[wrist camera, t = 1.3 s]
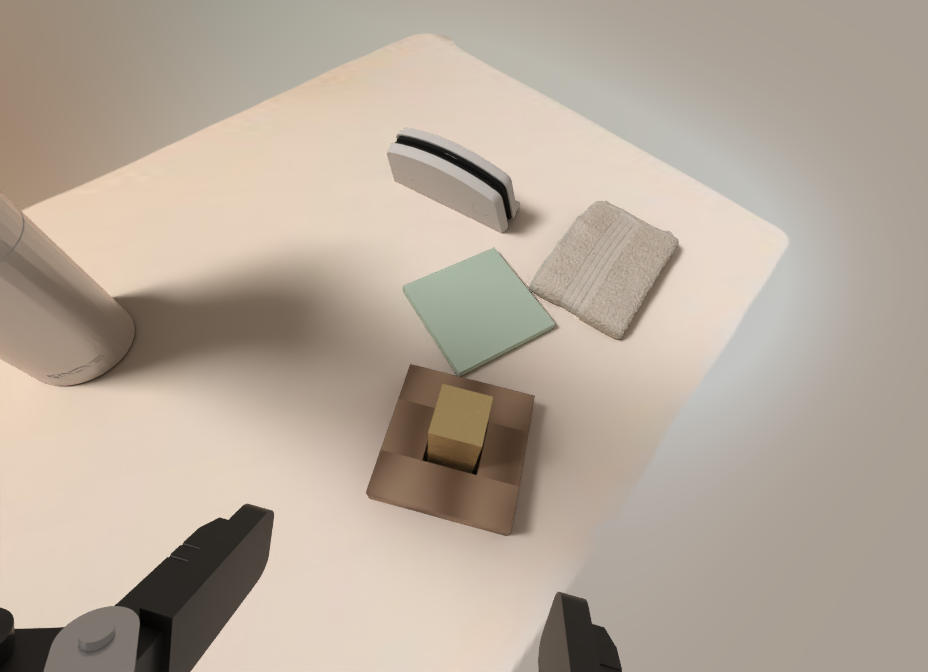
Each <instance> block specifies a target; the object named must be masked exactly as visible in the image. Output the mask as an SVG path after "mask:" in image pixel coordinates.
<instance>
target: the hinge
mask: <svg viewBox="0 0 928 672" xmlns="http://www.w3.org/2000/svg"><path fill="white" fill-rule="evenodd" d="M387 156H388V159H389V163H390V166H391V170H392V174H393V177H394V181H396V182H398V183H400V184H402V185H404V186H406V187H408V188H410V189H412V190H414V191H416V192H418V193H420V194H422V195H424V196H426V197H428V198H430V199H432V200H435V201H437V202H439V203H441V204H443V205H445V206H447V207H449V208H451V209H453V210H455V211H457V212H459V213H461V214H463V215H465V216H467V217H469V218H471V219H473V220H475V221H477V222H479V223H482V224H484V225H486V226H488V227H490V228H492V229H494V230H496V231H498V232H500V233H504V232H505V231H506V230H507V229H508V228H509V227H508V219H511V218H513V219H514V217H515V215H516V212H519V209H520V202H518V201H516V200H515V197H514V192H513V186H512V181H511V178H510V177H509V176H508V175H507V174H506V173H505V172H503V171H502V170H501V169H499V168H498V167H496V166H495V165H493V164H492V163H490V162H489V161H487V160H486V159H484V158H482V157H481V156H479V155H477V154H475V153H474V152H472V151H470V150H468V149H466V148H464V147H462V146H460V145H458V144H456V143H454V142H452V141H449V140H447V139H445V138H442V137H440V136H437V135H434V134H431V133H428V132H424V131H421V130H416V129H411V128H404V129H403V130H402V131H401V132H399V133H398V134H397V142H395V143H391V145H390V147H389V150H388V153H387ZM507 218H508V219H507Z"/></svg>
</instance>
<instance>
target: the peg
mask: <svg viewBox="0 0 928 672" xmlns="http://www.w3.org/2000/svg"><path fill="white" fill-rule="evenodd" d="M492 400H493V397H492V396H488V395H485V394H481V393H477V392H473V391H469V390H465V389H461V388H457V387H453V386H449V385H446V384H442V387H441V391H440V394H439V397H438V401H437V404H436V407H435V411H434V414H433V418H432V421H431V424H430V428H429V431H428V462H429V463H433V464H437V465H440V466H444V467H448V468H452V469H455V470H459V471H463V472H467V473H470V474H472V472H473V469H474V467H475V464H476V461H477V459H478V456H479V454H480V451H481V448H482V445H483V440H484V436H485V431H486V427H487V423H488V418H489V414H490V409H491V405H492Z"/></svg>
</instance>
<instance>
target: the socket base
mask: <svg viewBox="0 0 928 672" xmlns="http://www.w3.org/2000/svg"><path fill="white" fill-rule="evenodd" d="M442 384H446V385H449V386H453V387H457V388H461V389H465V390H469V391H473V392H477V393H481V394H485V395H488V396H492V397H493V400H492V405H491V409H490V414H489V418H488V423H487V427H486V432H485V436H484V441H483V445H482V450H481V454H480V459H479V463H478V467H477V472H476V475H474V474H470V473H467V472H463V471H459V470H455V469H452V468H448V467H444V466H440V465H437V464H433V463H429V462H425V461H424V459H425V456H426V452H427V449H428V431H429V428H430V424H431V421H432V418H433V414H434V411H435V407H436V404H437V401H438V397H439V394H440V391H441V387H442ZM534 397H535V396H533V395H529V394H525V393H521V392H518V391H514V390H510V389H506V388H502V387H498V386H494V385H490V384H486V383H482V382H478V381H474V380H470V379H467V378H463V377H459V376H455V375H451V374H447V373H443V372H439V371H435V370H431V369H427V368H423V367H419V366H416V365H412V364H410V367H409V370H408V373H407V375H406V378H405V381H404V384H403V387H402V390H401V393H400V396H399V398H398V401H397V404H396V407H395V410H394V413H393V416H392V419H391V422H390V424H389V427H388V430H387V433H386V436H385V439H384V442H383V445H382V447H381V450H380V453H379V456H378V459H377V462H376V465H375V468H374V470H373V473H372V476H371V479H370V482H369V485H368V488H367V491H366V494H367V495H368V497H369V498H370V499H373V500H377V501H381V502H384V503H388V504H392V505H395V506H399V507H403V508H406V509H410V510H413V511H417V512H421V513H424V514H428V515H432V516H435V517H439V518H443V519H446V520H450V521H453V522H457V523H461V524H464V525H468V526H472V527H475V528H479V529H483V530H486V531H490V532H494V533H497V534H501V535H504V536H507V535H508V534H510V533H511V531H512V525H513V519H514V514H515V508H516V502H517V496H518V490H519V484H520V479H521V473H522V467H523V461H524V455H525V450H526V444H527V438H528V432H529V426H530V421H531V415H532V409H533V403H534Z"/></svg>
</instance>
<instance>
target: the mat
mask: <svg viewBox="0 0 928 672" xmlns="http://www.w3.org/2000/svg"><path fill="white" fill-rule="evenodd" d="M403 292H404V294H405V296H406V297H407V299H408V300H409V302H410V303H411V305H412V306H413V308H414V309H415V311H416V313H417V314H418V316H419V317H420V319H421V320H422V322H423V323H424V325H425V326H426V328H427V330H428V331H429V333H430V334H431V336H432V337H433V339H434V340H435V342H436V344H437V345H438V347H439V348H440V350H441V351H442V353H443V354H444V356H445V357H446V359H447V361H448V362H449V364H450V365H451V367H452V368H453V370H454V371H455V373H456V374H457V376H459V377H460V376H462V375H464V374H466V373H468V372H470V371H472V370H474V369H476V368H478V367H480V366H482V365H484V364H486V363H487V362H489V361H491V360H493V359H495V358H497V357H499V356H501V355H503V354H505V353H507V352H509V351H511V350H513V349H514V348H516V347H518V346H520V345H522V344H524V343H526V342H528V341H530V340H532V339H534V338H536V337H538V336H539V335H541V334H543V333H545V332H547V331H549V330H551V329H553V328H554V325H555V322H554V321H553V320H552V319H551V318H550V316H549V315H548V314H547V313H546V311H545V310H544V309H543V308H542V306H541V305H540V304H539V303H538V301H537V300H536V299H535V298H534V296H533V295H532V294H531V293H530V292H529V290H528V289H527V288H526V287H525V285H524V284H523V283H522V282H521V280H520V279H519V278H518V277H517V275H516V274H515V273H514V272H513V270H512V269H511V268H510V267H509V266H508V264H507V263H506V262H505V261H504V259H503V258H502V257H501V256H500V254H499V253H498V252H497V251H496V249H495V248H492V249H490V250H487V251H485V252H483V253H480V254H478V255H475V256H473V257H471V258H468V259H466V260H464V261H461V262H459V263H456V264H454V265H452V266H449V267H447V268H445V269H442V270H440V271H437V272H435V273H433V274H430V275H428V276H426V277H423V278H421V279H418V280H416V281H414V282H411V283H409V284H407V285H404V286H403Z"/></svg>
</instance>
